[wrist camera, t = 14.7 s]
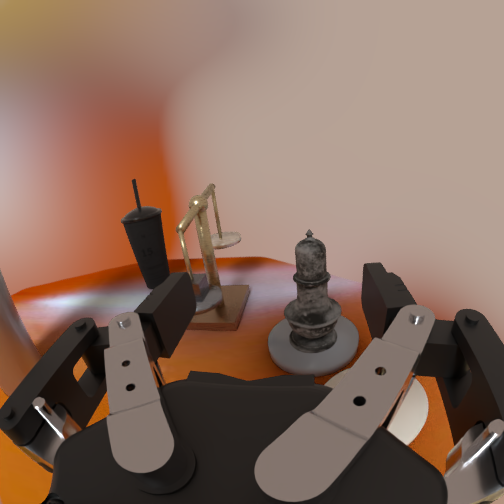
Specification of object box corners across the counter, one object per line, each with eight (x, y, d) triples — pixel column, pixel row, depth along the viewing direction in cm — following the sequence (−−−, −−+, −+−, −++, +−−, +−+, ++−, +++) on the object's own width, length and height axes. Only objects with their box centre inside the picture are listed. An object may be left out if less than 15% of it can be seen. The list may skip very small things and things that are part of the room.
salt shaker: (316, 315, 32) (312, 217, 27) (351, 337, 27) (355, 228, 22) (275, 335, 29) (263, 231, 25) (308, 363, 24) (304, 245, 20)
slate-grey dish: (263, 377, 25) (262, 369, 24) (273, 320, 34) (272, 313, 34) (364, 372, 23) (365, 364, 22) (351, 316, 32) (351, 308, 32)
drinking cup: (138, 282, 51) (113, 184, 44) (172, 271, 54) (151, 174, 47) (143, 297, 45) (112, 185, 38) (182, 284, 48) (157, 173, 41)
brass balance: (173, 350, 31) (131, 212, 25) (215, 280, 48) (196, 184, 42) (228, 353, 29) (194, 201, 23) (254, 278, 46) (239, 177, 40)
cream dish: (312, 466, 15) (312, 461, 14) (314, 376, 24) (314, 368, 23) (435, 446, 13) (440, 439, 12) (410, 366, 22) (412, 357, 21)
